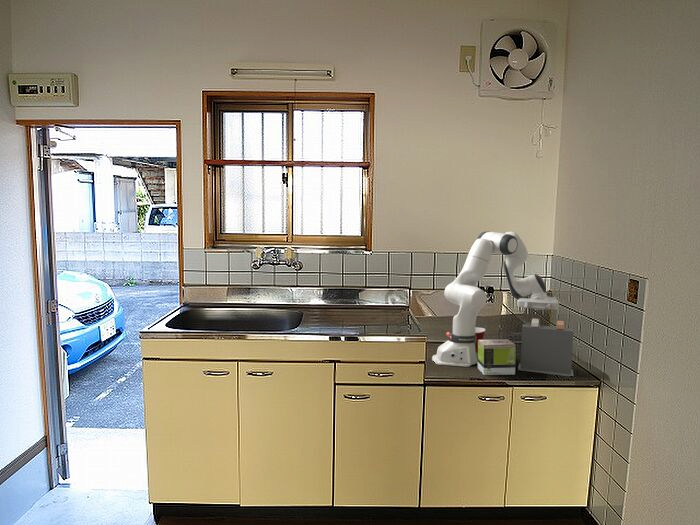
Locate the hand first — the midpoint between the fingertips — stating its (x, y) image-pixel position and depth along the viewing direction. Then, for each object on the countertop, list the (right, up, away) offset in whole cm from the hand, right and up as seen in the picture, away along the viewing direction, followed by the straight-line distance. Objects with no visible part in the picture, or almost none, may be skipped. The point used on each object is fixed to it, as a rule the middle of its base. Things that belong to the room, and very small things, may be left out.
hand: (537, 306), depth 243 cm
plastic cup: (-28, -25, +15) cm, 41 cm away
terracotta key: (+3, -13, -18) cm, 22 cm away
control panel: (-3, -29, -17) cm, 34 cm away
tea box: (-27, -29, -18) cm, 44 cm away
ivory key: (-7, -12, -14) cm, 20 cm away
